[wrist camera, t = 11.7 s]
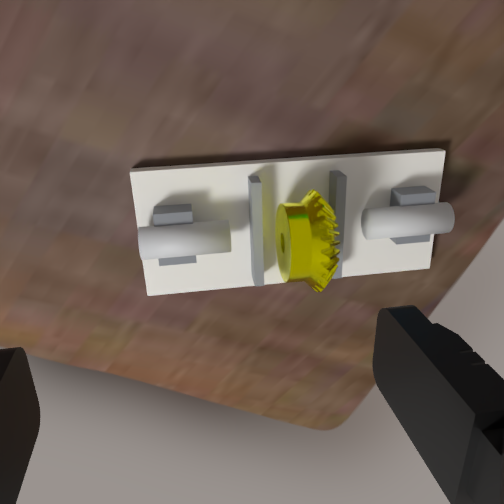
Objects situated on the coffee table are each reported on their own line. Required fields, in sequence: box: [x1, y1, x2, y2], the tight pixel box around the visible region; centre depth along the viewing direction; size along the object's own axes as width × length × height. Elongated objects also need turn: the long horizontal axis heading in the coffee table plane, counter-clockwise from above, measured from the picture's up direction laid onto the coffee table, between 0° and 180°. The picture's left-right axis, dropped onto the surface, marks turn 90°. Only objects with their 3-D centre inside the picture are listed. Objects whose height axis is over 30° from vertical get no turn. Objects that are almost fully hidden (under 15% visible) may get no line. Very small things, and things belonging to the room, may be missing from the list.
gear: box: [275, 189, 340, 292], centre depth 36 cm, size 8×4×8 cm, turn 1°
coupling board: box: [130, 148, 455, 296], centre depth 39 cm, size 26×11×4 cm, turn 92°
